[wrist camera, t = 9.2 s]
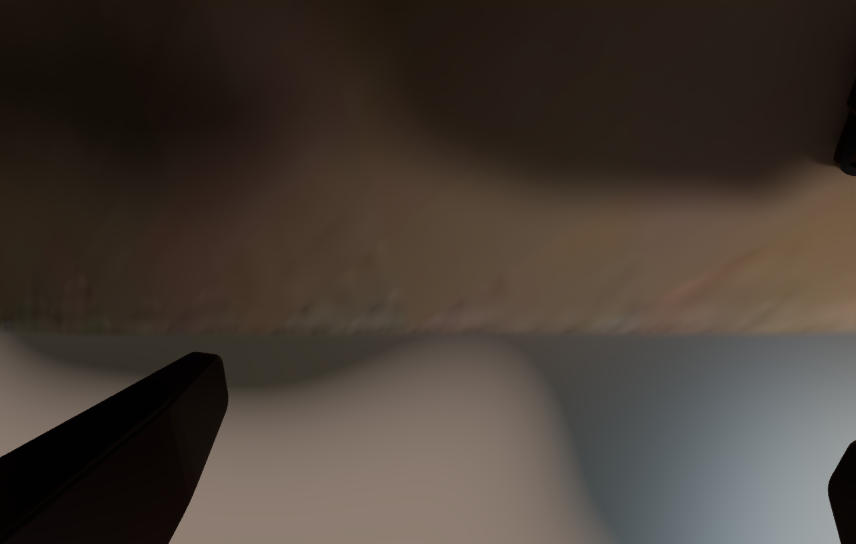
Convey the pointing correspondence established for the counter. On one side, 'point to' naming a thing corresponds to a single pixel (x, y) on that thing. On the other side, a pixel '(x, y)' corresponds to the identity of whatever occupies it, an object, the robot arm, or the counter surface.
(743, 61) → the counter surface
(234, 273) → the counter surface
